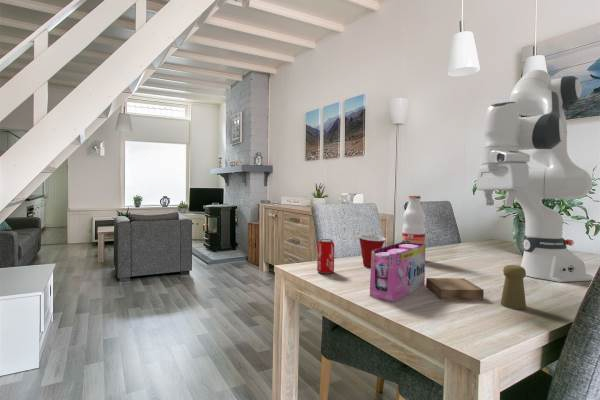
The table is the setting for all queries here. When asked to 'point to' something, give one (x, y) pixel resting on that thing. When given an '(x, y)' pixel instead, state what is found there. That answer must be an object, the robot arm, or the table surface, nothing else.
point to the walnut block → (454, 289)
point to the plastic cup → (369, 247)
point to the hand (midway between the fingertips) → (498, 206)
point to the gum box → (397, 270)
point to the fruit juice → (414, 222)
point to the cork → (513, 287)
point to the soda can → (325, 256)
